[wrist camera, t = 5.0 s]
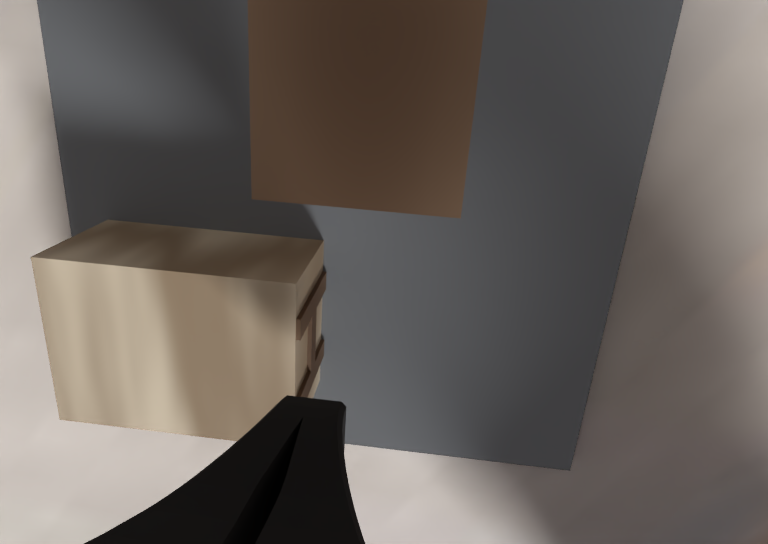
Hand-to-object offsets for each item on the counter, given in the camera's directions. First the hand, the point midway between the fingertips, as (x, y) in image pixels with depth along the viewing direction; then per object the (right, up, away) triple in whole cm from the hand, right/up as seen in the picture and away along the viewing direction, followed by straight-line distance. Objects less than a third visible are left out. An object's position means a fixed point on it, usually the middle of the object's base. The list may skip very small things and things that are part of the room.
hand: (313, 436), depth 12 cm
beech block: (-1, +2, +4) cm, 4 cm away
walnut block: (+2, +10, +3) cm, 10 cm away
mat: (0, +5, +5) cm, 7 cm away
